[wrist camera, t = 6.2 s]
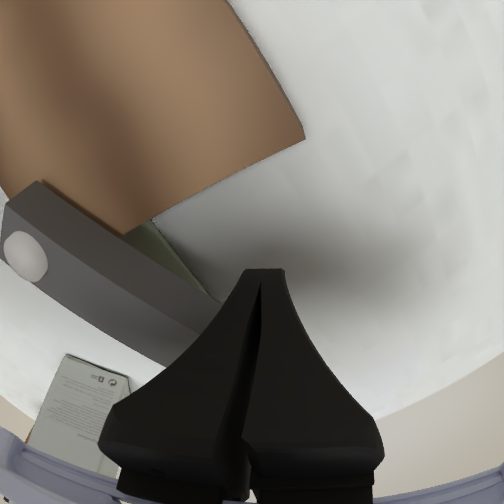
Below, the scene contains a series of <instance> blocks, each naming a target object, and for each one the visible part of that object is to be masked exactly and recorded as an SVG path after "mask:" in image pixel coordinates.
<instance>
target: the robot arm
mask: <svg viewBox="0 0 504 504" xmlns="http://www.w3.org/2000/svg"><path fill="white" fill-rule="evenodd" d="M97 445H98V447H99V449H100V451H101V452H102V453H103V454H104V455H105V456H107V457H108V458H109V459H111V460H112V461H113V462H114V463H116V464H117V465H118V466H120V467H121V468H122V469H121V472H120V476H119V479H115V478H112V477H109V476H105V475H102V474H99V473H96V472H93V471H90V470H87V469H84V468H82V467H79V466H76V465H74V464H71V463H68V462H66V461H63V460H61V459H58V458H56V457H54V456H51V455H49V454H47V453H44V452H42V451H40V450H38V449H35V448H33V447H31V446H29V445H27V444H25V443H24V442H23V441H22V440H21V439H20V438H18V437H17V436H16V435H14V434H13V433H11V432H10V431H8V430H6V429H4V428H2V427H0V493H1V494H2V495H3V496H5V497H6V498H7V499H9V500H10V501H11V502H13V503H14V504H121V502H120V501H119V500H121V501H124V502H127V503H131V504H504V463H502V464H501V465H500V466H498V467H495V468H493V469H490V470H487V471H484V472H481V473H479V474H476V475H473V476H470V477H466V478H463V479H460V480H457V481H453V482H450V483H446V484H443V485H438V486H435V487H431V488H427V489H422V490H417V491H414V492H408V493H403V494H398V495H392V496H386V497H379V498H373V494H372V485H374V470H375V469H376V468H377V466H378V465H379V464H380V463H381V462H382V460H383V459H384V457H385V453H384V447H383V443H382V439H381V436H380V433H379V431H378V428H377V426H376V423H375V421H374V419H373V417H372V416H371V415H370V414H369V413H368V412H367V411H366V410H365V409H364V408H363V407H362V406H361V405H360V404H359V403H358V402H357V401H356V400H355V399H354V398H353V397H352V396H351V394H350V393H349V392H348V391H347V390H346V389H345V388H344V386H343V385H342V384H341V383H340V381H339V380H338V379H337V378H336V376H335V375H334V374H333V372H332V371H331V370H330V368H329V367H328V366H327V365H326V363H325V362H324V360H323V359H322V357H321V356H320V354H319V353H318V351H317V350H316V348H315V346H314V345H313V343H312V341H311V340H310V338H309V336H308V334H307V332H306V331H305V329H304V327H303V325H302V323H301V321H300V319H299V316H298V314H297V312H296V310H295V307H294V305H293V302H292V300H291V297H290V294H289V291H288V288H287V284H286V280H285V271H284V270H283V269H281V268H279V269H246V270H244V271H243V273H242V275H241V277H240V279H239V281H238V282H237V284H236V286H235V287H234V289H233V291H232V292H231V294H230V296H229V297H228V299H227V300H226V301H225V303H224V304H223V306H222V307H221V309H220V310H219V312H218V313H217V314H216V316H215V317H214V318H213V320H212V321H211V322H210V323H209V325H208V326H207V327H206V328H205V330H204V331H203V332H202V333H201V334H200V336H199V337H198V338H197V339H196V340H195V341H194V342H193V343H192V344H191V345H190V346H189V347H188V348H187V349H186V350H185V351H184V352H183V353H182V354H181V355H180V356H179V357H178V358H177V359H176V360H175V361H174V362H173V363H172V364H170V365H169V366H168V367H167V368H166V369H165V370H163V371H162V372H161V373H159V374H158V375H157V376H156V377H154V378H153V379H152V380H150V381H149V382H148V383H146V384H145V385H144V386H142V387H141V388H139V389H138V390H136V391H135V392H133V393H132V394H130V395H128V396H127V397H125V398H123V399H122V400H120V401H119V402H117V403H115V404H113V405H112V408H111V410H110V412H109V413H108V415H107V418H106V420H105V423H104V426H103V428H102V431H101V434H100V437H99V440H98V443H97ZM250 489H251V490H252V491H253V493H254V495H255V497H256V499H257V503H249V502H245V501H246V500H247V499H248V498H249V495H250Z"/></svg>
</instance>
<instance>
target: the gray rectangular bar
mask: <svg viewBox="0 0 504 504" xmlns="http://www.w3.org/2000/svg"><path fill="white" fill-rule="evenodd" d="M0 258H1V259H2V260H3V261H4V262H5V263H7V264H8V265H9V266H10V267H11V268H12V269H13V270H14V271H15V272H16V273H17V274H18V275H19V276H20V277H22V278H23V279H25V280H27V281H30V282H31V283H32V284H34V285H35V286H36V287H38V288H39V289H40V290H42V291H43V292H44V293H46V294H47V295H49V296H50V297H51V298H53V299H54V300H56V301H57V302H58V303H60V304H61V305H63V306H64V307H66V308H67V309H69V310H70V311H72V312H73V313H75V314H76V315H78V316H79V317H81V318H82V319H84V320H85V321H87V322H88V323H90V324H92V325H93V326H95V327H96V328H98V329H100V330H101V331H103V332H104V333H106V334H108V335H109V336H111V337H113V338H114V339H116V340H118V341H119V342H121V343H123V344H125V345H126V346H128V347H130V348H131V349H133V350H135V351H137V352H139V353H140V354H142V355H144V356H146V357H148V358H149V359H151V360H153V361H155V362H157V363H159V364H161V365H163V366H164V367H166V368H167V367H168V366H169V365H170V364H172V363H173V362H174V361H175V360H176V359H177V358H178V357H179V356H180V355H181V354H182V353H183V352H184V351H185V350H186V349H187V348H188V347H189V346H190V345H191V344H192V343H193V342H194V341H195V340H196V339H197V338H198V337H199V336H200V334H201V333H202V332H203V331H204V330H205V328H206V327H207V326H208V325H209V323H210V322H211V321H212V320H213V318H214V317H215V316H216V314H217V313H218V312H219V310H220V309H221V307H222V306H223V304H222V303H220V302H219V301H217V300H215V299H214V298H212V297H210V296H209V295H207V294H205V293H204V292H202V291H201V290H199V289H197V288H196V287H194V286H192V285H191V284H189V283H188V282H186V281H184V280H183V279H181V278H180V277H178V276H176V275H175V274H173V273H172V272H170V271H168V270H167V269H165V268H164V267H162V266H161V265H159V264H157V263H156V262H154V261H153V260H151V259H150V258H148V257H147V256H145V255H144V254H142V253H140V252H139V251H137V250H136V249H134V248H133V247H131V246H130V245H128V244H127V243H125V242H124V241H122V240H121V239H119V238H118V237H116V236H115V235H113V234H112V233H110V232H109V231H107V230H106V229H105V228H103V227H102V226H100V225H99V224H97V223H96V222H94V221H93V220H91V219H90V218H89V217H87V216H86V215H84V214H83V213H81V212H80V211H79V210H77V209H76V208H74V207H73V206H72V205H70V204H69V203H67V202H66V201H65V200H63V199H62V198H60V197H59V196H58V195H56V194H55V193H53V192H52V191H51V190H49V189H48V188H47V187H45V186H44V185H43V184H41V183H40V182H39V181H37V180H36V181H35V182H33V183H32V184H30V185H29V186H28V187H26V188H25V189H24V190H22V191H21V192H20V193H18V194H17V195H16V196H15V197H13V198H12V199H11V200H9V201H8V202H7V203H6V204H5V208H4V214H3V222H2V230H1V239H0Z"/></svg>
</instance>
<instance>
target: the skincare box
mask: <svg viewBox="0 0 504 504" xmlns="http://www.w3.org/2000/svg"><path fill="white" fill-rule="evenodd" d="M128 395H130V392H129V388H128V379H127V378H125V377H123V376H120V375H117V374H114V373H110V372H107V371H105V370H102V369H100V368H98V367H95V366H93V365H91V364H89V363H86V362H84V361H82V360H79V359H77V358H74V357H72V356H70V355H65V356H64V358H63V359H62V361H61V363H60V366H59V368H58V370H57V372H56V374H55V377H54V379H53V381H52V383H51V386H50V388H49V390H48V392H47V395H46V397H45V399H44V402H43V404H42V407H41V409H40V411H39V414H38V416H37V419H36V421H35V424H34V426H33V429H32V432H31V435H30V437H29V440H28V443H27V445H29V446H31V447H33V448H35V449H38V450H40V451H42V452H44V453H47V454H49V455H51V456H54V457H56V458H58V459H61V460H63V461H66V462H68V463H71V464H74V465H76V466H79V467H82V468H84V469H87V470H90V471H93V472H96V473H99V474H102V475H105V476H109V477H112V478H115V479H116V474H117V471H118V467H119V466H118V465H117V464H116V463H114V462H113V461H112V460H111V459H109V458H108V457H107V456H105V455H104V454H103V453H102V452H101V451H100V449H99V447H98V445H97V443H98V440H99V437H100V434H101V431H102V428H103V426H104V423H105V420H106V418H107V415H108V413H109V412H110V410H111V408H112V405H113V404H115V403H117V402H119V401H120V400H122V399H123V398H125V397H127V396H128ZM8 504H14V503H13V502H11V501H10V500H9V503H8Z"/></svg>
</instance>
